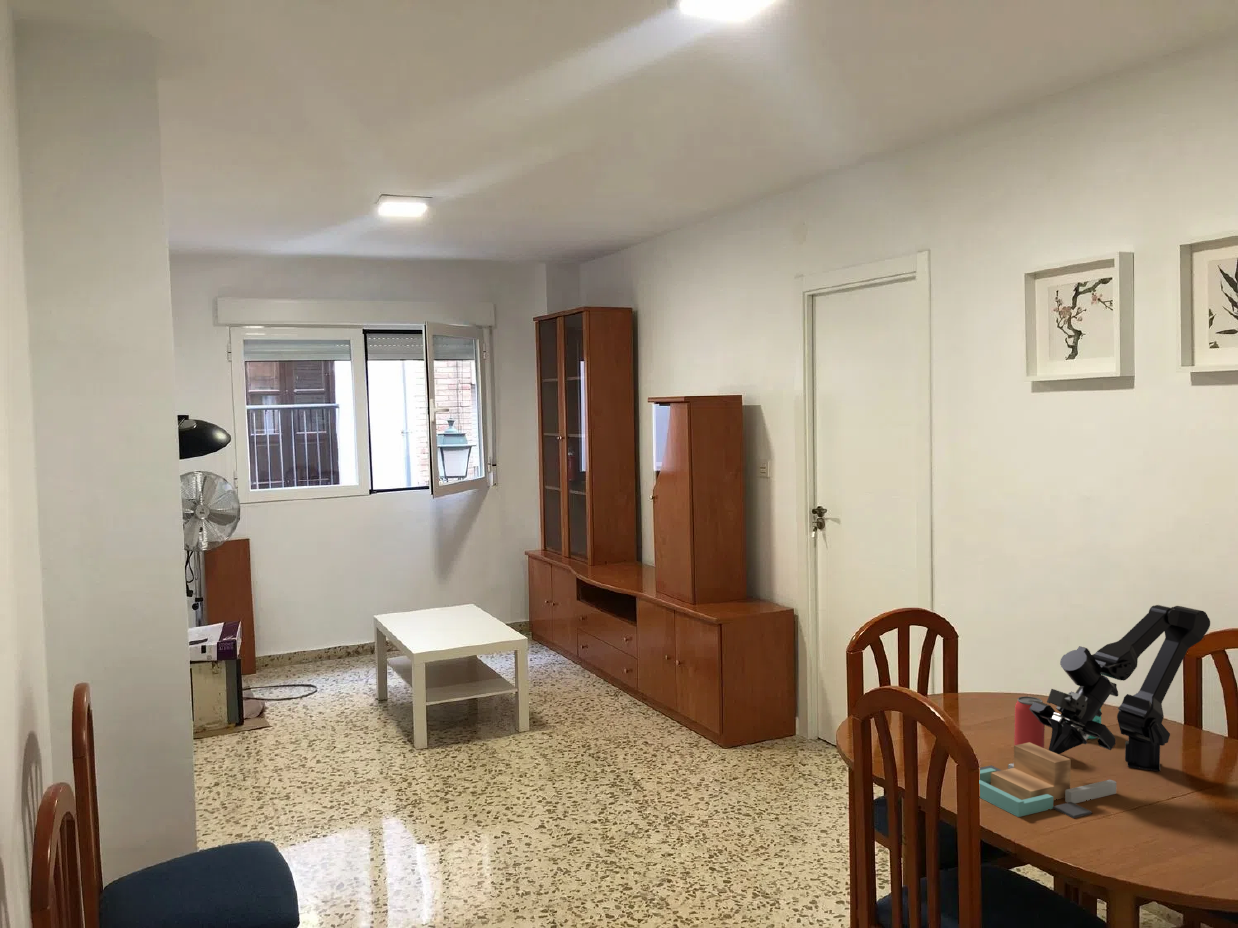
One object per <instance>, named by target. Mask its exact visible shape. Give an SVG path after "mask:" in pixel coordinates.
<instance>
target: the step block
mask: <svg viewBox="0 0 1238 928" xmlns="http://www.w3.org/2000/svg"><path fill="white" fill-rule="evenodd" d="M1071 762H1072V761H1071V758H1069V757H1066V756H1063V755H1061V754H1057V753H1054V752H1052V751H1049V749H1046V748H1045V747H1044V748H1042V747H1040V746H1037V745H1035V744H1032V743H1030V742H1029V743H1024V744H1019V745H1014V744H1013V763H1014V768H1011V769H1008V768H1007V769H1000V770H1001V771H997V772H992V773H991V783H990V785H992V786H994V787H996V788H998V789H1000V790H1002V791H1004V792H1006V793H1008V794H1010V795H1012V796H1014V797H1016V798H1018V799H1021V800H1024V799H1028V798H1032V797H1037V796H1041V795H1045V794H1049V795H1051V796H1053V801H1056V799H1057V800H1060V799H1061V800H1062V799H1065V790H1067V789H1071V769H1072V767H1071Z"/></svg>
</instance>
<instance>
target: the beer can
mask: <svg viewBox="0 0 1238 928" xmlns="http://www.w3.org/2000/svg"><path fill="white" fill-rule="evenodd" d="M1037 701H1039V702H1042V703H1044V701H1043V700H1042V699H1041V698H1038V697H1034V696H1028V695H1027V696H1019V697H1018V698H1017V701H1016V703H1015V706H1014V738H1013V739H1014V741H1013V746H1014V745H1019V744H1024V743H1029V742H1030V743H1032V744H1035V745H1037V746H1040V747H1042V748H1044V749H1045V728H1046V727H1045V726H1046V725H1043V724H1042V723H1040V721H1039V720H1038V719H1037V718H1036V717H1035V716H1034V714H1033V713H1032V712H1031V711H1030V710H1029V708H1030V707H1031V706H1032V704H1033V703H1034V702H1037Z"/></svg>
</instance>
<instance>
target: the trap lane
mask: <svg viewBox="0 0 1238 928" xmlns="http://www.w3.org/2000/svg"><path fill="white" fill-rule="evenodd" d="M979 768H980V780H979V784H980V799H982V800H984V801H986V802H988V803H990V804H991V805H993V806H994V807H997V808H999V809H1002V810H1003V811H1005V812H1008V814H1012V815H1014V816H1015V817H1017V818H1020V817H1024V816H1029V815H1032V814H1037V813H1042V812H1044V811H1049V810H1048V809H1050V810H1052V809H1053V810H1054V811H1057V812H1060V813H1062V814H1063V813H1064V815H1065V814H1066V816H1068V817H1070V818H1072V819H1076V818H1080V817H1084V816H1088V815H1092V813H1093V812H1092V810H1090V809H1087V808H1085V807H1083V806H1082V805H1080V804H1078V803H1082V802H1086V800H1087V801H1091V800H1096V799H1100V798H1103V797H1107V796H1112V795H1115V794H1117V781H1115V780H1112V779H1107V780H1102V781H1098V782H1094V783H1089V784H1085V785H1080V786H1076V787H1072V788H1071V787H1070V789H1067V790H1065V798H1064V799H1065V801H1064V802H1065V803H1061V804H1058V805H1054V800H1053V796H1051V795H1049V794H1045V795H1041V796H1037V797H1032V798H1028V799H1024V800H1021V799H1018V798H1016V797H1014V796H1012V795H1010V794H1008V793H1006V792H1004V791H1002V790H1000V789H998V788H996V787H994V786H992V785H991V773H992V772H997V771H1001V770H1002V769H1000V768H998V767H996V766H994V765H991V764H990V765H986V766H980V767H979ZM1011 768H1014V762H1013V763H1009V764H1008V765H1007V769H1011ZM1090 799H1091V800H1090Z"/></svg>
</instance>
